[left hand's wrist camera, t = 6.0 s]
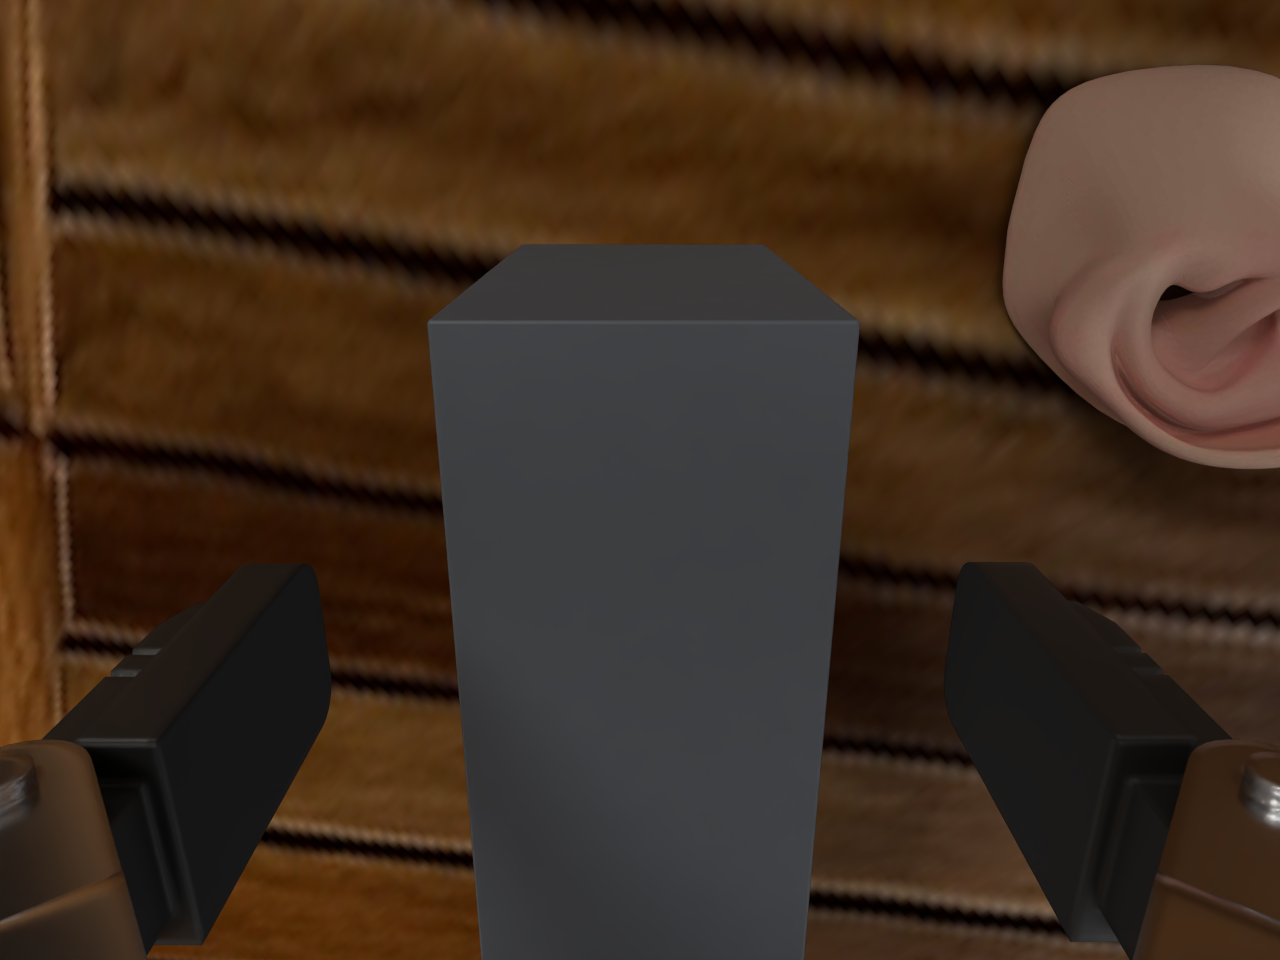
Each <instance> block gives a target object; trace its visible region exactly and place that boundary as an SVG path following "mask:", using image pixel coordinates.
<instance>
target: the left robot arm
mask: <svg viewBox="0 0 1280 960" xmlns="http://www.w3.org/2000/svg"><path fill="white" fill-rule="evenodd" d="M944 692H945V701H946V706H947V711H948V714H949V717H950V720H951V723H952V725H953V727H954V729H955V730H956V732H957V734H958V736H959V738H960V740H961V741H962V743H963V745H964V747H965V749H966V751H967V752H968V754H969V756H970V758H971V760H972V762H973V763H974V765H975V767H976V769H977V771H978V773H979V774H980V776H981V778H982V780H983V782H984V784H985V785H986V787H987V789H988V791H989V793H990V795H991V796H992V798H993V800H994V802H995V804H996V806H997V807H998V809H999V811H1000V813H1001V815H1002V817H1003V818H1004V820H1005V822H1006V824H1007V826H1008V828H1009V830H1010V831H1011V833H1012V835H1013V837H1014V839H1015V841H1016V842H1017V844H1018V846H1019V848H1020V850H1021V852H1022V853H1023V855H1024V857H1025V859H1026V861H1027V863H1028V864H1029V866H1030V868H1031V870H1032V872H1033V874H1034V875H1035V877H1036V879H1037V881H1038V883H1039V885H1040V886H1041V888H1042V890H1043V892H1044V894H1045V896H1046V897H1047V899H1048V901H1049V903H1050V905H1051V907H1052V908H1053V910H1054V912H1055V914H1056V916H1057V918H1058V919H1059V921H1060V923H1061V925H1062V927H1063V929H1064V930H1065V932H1066V934H1067V936H1068V938H1069V940H1070V942H1120V944H1121V946H1122V947H1123V949H1124V951H1125V952H1126V954H1127V956H1128V957H1129V959H1130V960H1280V747H1278V746H1274V745H1270V744H1265V743H1260V742H1255V741H1247V740H1233V739H1232V738H1231V737H1230V736H1229V735H1228V734H1227V733H1226V732H1225V731H1224V730H1223V729H1222V728H1221V727H1220V726H1219V725H1218V724H1217V723H1216V722H1215V721H1214V720H1213V719H1212V718H1211V717H1210V716H1209V715H1208V714H1207V713H1206V712H1205V711H1204V710H1203V709H1202V708H1201V707H1200V706H1199V705H1198V704H1197V703H1196V702H1195V701H1194V700H1193V699H1192V698H1191V697H1190V696H1189V695H1188V694H1187V693H1186V692H1185V691H1184V690H1183V689H1182V688H1181V687H1180V686H1179V685H1178V684H1176V683H1175V682H1174V681H1173V680H1172V679H1171V678H1170V677H1169V676H1168V675H1163V674H1162V669H1161V668H1160V667H1159V666H1158V665H1157V664H1156V663H1155V662H1154V661H1153V660H1152V659H1151V658H1150V657H1149V656H1148V655H1147V654H1146V653H1141V648H1140V647H1139V646H1138V645H1137V644H1136V643H1135V642H1134V641H1133V640H1132V639H1131V638H1130V637H1129V636H1128V635H1127V634H1126V633H1125V632H1124V631H1123V630H1122V629H1121V628H1120V627H1119V626H1118V625H1117V624H1116V623H1115V622H1113V621H1111V620H1109V619H1108V618H1106V617H1104V616H1102V615H1100V614H1098V613H1097V612H1095V611H1093V610H1091V609H1089V608H1088V607H1086V606H1084V605H1082V604H1080V603H1079V602H1077V601H1068V600H1067V599H1066V598H1065V597H1064V596H1063V595H1062V594H1061V593H1060V592H1059V591H1058V590H1057V589H1056V588H1055V587H1054V586H1053V585H1052V584H1051V582H1050V581H1049V580H1048V579H1047V578H1046V577H1045V576H1044V575H1043V574H1042V573H1041V572H1040V571H1039V570H1038V569H1037V568H1036V567H1035V566H1034V565H1033V564H1031V563H1029V562H968V563H966V564H965V565H964V566H963V567H962V569H961V571H960V573H959V577H958V581H957V587H956V594H955V601H954V608H953V615H952V622H951V629H950V636H949V644H948V651H947V658H946V665H945V673H944ZM330 697H331V672H330V664H329V657H328V650H327V643H326V636H325V629H324V622H323V615H322V608H321V601H320V594H319V587H318V582H317V578H316V575H315V572H314V570H313V568H312V567H311V566H310V565H309V564H244V565H242V566H241V567H240V568H239V569H238V570H237V571H236V572H235V573H234V574H233V575H232V576H231V577H230V578H229V579H228V580H227V581H226V582H225V583H224V584H223V585H222V586H221V587H220V588H219V589H218V590H217V592H216V593H215V594H214V595H213V596H212V597H211V598H210V599H209V600H208V601H207V602H206V603H197V604H195V605H193V606H191V607H189V608H188V609H186V610H184V611H182V612H180V613H179V614H177V615H175V616H173V617H171V618H169V619H168V620H166V621H164V622H162V623H160V624H159V625H158V626H157V627H156V628H155V629H154V630H153V631H152V632H150V633H149V634H148V635H147V636H146V637H145V638H144V639H143V640H142V641H141V642H140V643H139V644H138V645H137V646H136V647H135V648H134V649H133V654H132V655H127V656H126V657H125V658H124V659H123V660H122V661H121V662H120V663H119V664H118V665H117V666H116V667H115V668H114V669H113V670H112V671H111V676H110V677H105V678H104V679H103V680H102V681H101V682H100V683H99V684H98V685H97V686H96V687H95V688H94V689H93V690H92V691H90V692H89V693H88V694H87V695H86V696H85V697H84V698H83V699H82V700H81V701H80V702H79V703H78V704H77V705H76V706H75V707H74V708H73V709H72V710H71V711H70V712H69V713H68V714H67V715H66V716H65V717H64V718H63V719H62V720H61V721H60V722H59V723H58V724H57V725H56V726H55V727H54V728H53V729H52V730H51V731H50V732H49V733H48V734H47V735H46V736H45V737H44V738H43V739H42V740H33V741H25V742H20V743H15V744H10V745H6V746H2V747H0V960H147V954H148V953H149V951H150V950H151V948H152V946H153V945H203V943H204V941H205V939H206V937H207V936H208V934H209V932H210V930H211V928H212V926H213V925H214V923H215V921H216V919H217V917H218V916H219V914H220V912H221V910H222V908H223V907H224V905H225V903H226V901H227V899H228V897H229V896H230V894H231V892H232V890H233V888H234V887H235V885H236V883H237V881H238V879H239V877H240V876H241V874H242V872H243V870H244V868H245V867H246V865H247V863H248V861H249V859H250V858H251V856H252V854H253V852H254V850H255V848H256V847H257V845H258V843H259V841H260V839H261V838H262V836H263V834H264V832H265V830H266V829H267V827H268V825H269V823H270V821H271V819H272V818H273V816H274V814H275V812H276V810H277V809H278V807H279V805H280V803H281V801H282V800H283V798H284V796H285V794H286V792H287V790H288V789H289V787H290V785H291V783H292V781H293V780H294V778H295V776H296V774H297V772H298V770H299V769H300V767H301V765H302V763H303V761H304V760H305V758H306V756H307V754H308V752H309V751H310V749H311V747H312V745H313V743H314V741H315V740H316V738H317V736H318V734H319V732H320V731H321V729H322V727H323V725H324V723H325V720H326V717H327V713H328V709H329V704H330Z"/></svg>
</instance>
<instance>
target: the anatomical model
mask: <svg viewBox="0 0 1280 960" xmlns="http://www.w3.org/2000/svg"><path fill="white" fill-rule="evenodd" d="M1003 297H1004V302H1005V306H1006V309H1007V312H1008V315H1009V317H1010V319H1011V321H1012V323H1013V324H1014V326H1015V327H1016V329H1017V330H1018V332H1019V333H1020V334H1021V336H1022V337H1023V339H1024V340H1025V341H1026V342H1027V343H1028V344H1029V345H1030V347H1031V348H1032V349H1033V350H1034V351H1035V352H1036V353H1037V355H1038V356H1039V357H1040V358H1041V359H1042V360H1043V361H1044V362H1045V363H1046V364H1047V365H1048V366H1049V367H1050V368H1051V369H1052V370H1053V371H1054V372H1055V373H1056V374H1057V375H1058V376H1059V377H1060V378H1061V379H1062V380H1063V381H1064V382H1065V383H1066V384H1067V385H1068V386H1069V387H1071V388H1072V389H1073V390H1074V391H1075V392H1076V393H1077V394H1078V395H1080V396H1081V397H1082V398H1084V399H1085V400H1086V401H1087V402H1089V403H1090V404H1091V405H1092V406H1094V407H1095V408H1096V409H1098V410H1099V411H1101V412H1103V413H1104V414H1106V415H1108V416H1109V417H1111V418H1113V419H1114V420H1116V421H1117V422H1119V423H1121V424H1124V425H1126V426H1127V427H1128V428H1129V429H1131V430H1132V431H1133V432H1134V433H1136V434H1137V435H1138V436H1140V437H1141V438H1142V439H1144V440H1145V441H1147V442H1148V443H1150V444H1151V445H1153V446H1154V447H1156V448H1158V449H1160V450H1162V451H1164V452H1166V453H1168V454H1171V455H1173V456H1175V457H1178V458H1180V459H1183V460H1187V461H1190V462H1194V463H1198V464H1203V465H1208V466H1214V467H1222V468H1236V469H1265V468H1279V467H1280V79H1279V78H1277V77H1275V76H1273V75H1269V74H1266V73H1263V72H1259V71H1256V70H1250V69H1244V68H1238V67H1232V66H1220V65H1181V66H1164V67H1156V68H1148V69H1140V70H1132V71H1126V72H1122V73H1117V74H1113V75H1108V76H1104V77H1100V78H1097V79H1094V80H1091V81H1087V82H1085V83H1083V84H1081V85H1079V86H1076V87H1074V88H1072V89H1070V90H1069V91H1067V92H1066V93H1065V94H1063V95H1062V96H1060V97H1059V98H1058V99H1057V100H1056V101H1055V102H1054V103H1053V104H1052V105H1051V106H1050V107H1049V109H1048V110H1047V111H1046V113H1045V114H1044V116H1043V117H1042V119H1041V121H1040V123H1039V125H1038V127H1037V129H1036V131H1035V133H1034V136H1033V139H1032V141H1031V144H1030V147H1029V150H1028V152H1027V155H1026V158H1025V161H1024V165H1023V169H1022V173H1021V177H1020V180H1019V184H1018V188H1017V192H1016V196H1015V200H1014V203H1013V207H1012V211H1011V216H1010V221H1009V226H1008V231H1007V240H1006V250H1005V260H1004V269H1003Z"/></svg>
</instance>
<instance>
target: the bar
mask: <svg viewBox="0 0 1280 960" xmlns="http://www.w3.org/2000/svg"><path fill="white" fill-rule="evenodd" d="M427 326H428V338H429V350H430V361H431V373H432V385H433V396H434V408H435V420H436V431H437V443H438V455H439V466H440V478H441V490H442V501H443V513H444V525H445V536H446V548H447V560H448V572H449V583H450V595H451V607H452V618H453V630H454V642H455V653H456V665H457V677H458V688H459V700H460V712H461V723H462V735H463V747H464V758H465V770H466V782H467V793H468V805H469V817H470V829H471V840H472V852H473V864H474V875H475V887H476V899H477V910H478V922H479V934H480V945H481V957H482V960H804V952H805V940H806V929H807V917H808V906H809V895H810V883H811V872H812V861H813V849H814V838H815V827H816V815H817V804H818V793H819V781H820V770H821V759H822V747H823V736H824V724H825V713H826V702H827V690H828V679H829V668H830V656H831V645H832V634H833V622H834V611H835V600H836V588H837V577H838V566H839V554H840V543H841V531H842V520H843V509H844V497H845V486H846V475H847V463H848V452H849V441H850V429H851V418H852V407H853V395H854V384H855V373H856V361H857V350H858V339H859V327H860V323H859V321H858V320H857V319H856V318H855V317H853V316H852V315H851V314H850V313H848V312H847V311H846V310H845V309H843V308H842V307H841V306H840V305H838V304H837V303H836V302H835V301H833V300H832V299H831V298H830V297H828V296H827V295H826V294H825V293H823V292H822V291H821V290H820V289H818V288H817V287H816V286H815V285H813V284H812V283H811V282H810V281H808V280H807V279H806V278H805V277H803V276H802V275H801V274H800V273H799V272H797V271H796V270H795V269H794V268H792V267H791V266H790V265H789V264H787V263H786V262H785V261H784V260H782V259H781V258H780V257H779V256H777V255H776V254H775V253H774V252H772V251H771V250H770V249H769V248H767V247H766V246H765V245H521V246H520V247H519V248H518V249H516V250H515V251H514V252H513V253H511V254H510V255H509V256H508V257H506V258H505V259H504V260H503V261H501V262H500V263H499V264H498V265H497V266H495V267H494V268H493V269H492V270H490V271H489V272H488V273H487V274H485V275H484V276H483V277H482V278H480V279H479V280H478V281H477V282H476V283H474V284H473V285H472V286H471V287H469V288H468V289H467V290H466V291H464V292H463V293H462V294H461V295H460V296H458V297H457V298H456V299H455V300H453V301H452V302H451V303H450V304H448V305H447V306H446V307H445V308H443V309H442V310H441V311H440V312H439V313H437V314H436V315H435V316H434V317H432V318H431V319H430V320H429V321H428V323H427Z"/></svg>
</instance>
